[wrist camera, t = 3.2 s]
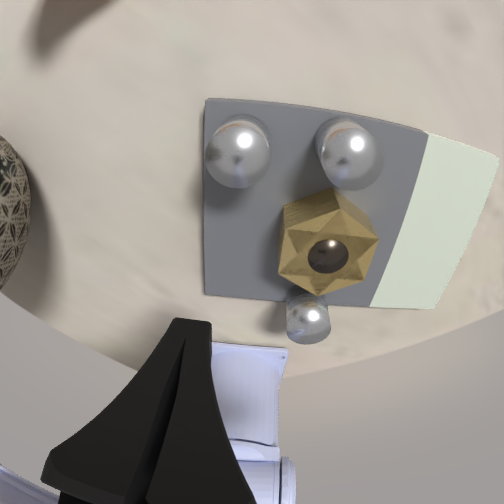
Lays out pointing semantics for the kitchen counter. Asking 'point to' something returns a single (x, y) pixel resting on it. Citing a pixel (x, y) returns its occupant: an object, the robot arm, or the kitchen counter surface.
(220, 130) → the cylinder
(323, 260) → the brass nut
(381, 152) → the cylinder
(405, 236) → the board
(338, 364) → the kitchen counter surface
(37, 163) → the kitchen counter surface
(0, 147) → the decorative egg
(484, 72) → the kitchen counter surface
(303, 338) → the cylinder
